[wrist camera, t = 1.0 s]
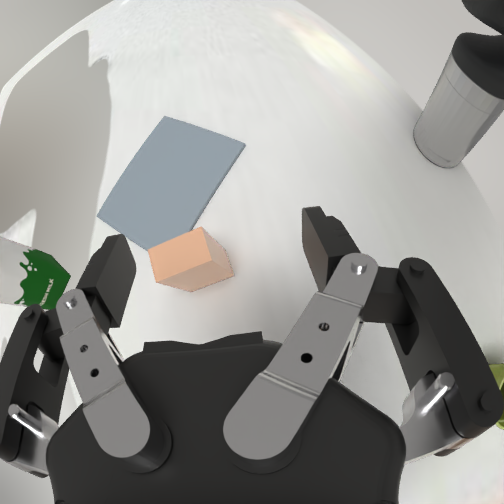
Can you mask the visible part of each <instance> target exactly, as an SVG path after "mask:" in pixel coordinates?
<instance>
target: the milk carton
mask: <svg viewBox="0 0 504 504" xmlns="http://www.w3.org/2000/svg"><path fill="white" fill-rule="evenodd" d="M70 277H71V276H70V275H69V273H68V272H67V271H66V270H65V269H64V268H63V267H62V266H61V265H60V264H59V263H58V262H57V261H56V260H55V259H54V258H53V257H52V256H51V255H49V254H47V253H44V252H42V251H39V250H36V249H34V248H31V247H28V246H25V245H22V244H20V243H17V242H14V241H11V240H8V239H6V238H3V237H0V303H4V304H11V305H18V306H25V307H29V306H30V305H33V304H39V305H40V306H41V307H42V309H48V310H51V309H54V308H56V304H57V302H58V300H59V299H60V297H61V296H62V295H63V292H64V290H65V288H66V286H67V283H68V281H69V279H70Z"/></svg>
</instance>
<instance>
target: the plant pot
mask: <svg viewBox="0 0 504 504" xmlns="http://www.w3.org/2000/svg"><path fill="white" fill-rule="evenodd" d="M489 367H490V369H491V371H492V373H493V375H494V377H495V380H496V382H497V384H498V387H499V389H500V391H501V394H502V396H503V400H504V364H491V365H489ZM496 425H497V426H498V427H499V428H500V429H503V430H504V410H503V414H502V416H501V418H500V419H499V421H498V422H497V423H496Z"/></svg>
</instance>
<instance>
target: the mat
mask: <svg viewBox="0 0 504 504" xmlns="http://www.w3.org/2000/svg"><path fill="white" fill-rule="evenodd" d="M245 146H246V145H245V143H242V142H240V141H237V140H235V139H232V138H229V137H226V136H224V135H221V134H218V133H215V132H213V131H210V130H207V129H204V128H201V127H198V126H195V125H192V124H189V123H186V122H183V121H180V120H176V119H173V118H170V117H167V116H164V117H163V119H162V120H161V121H160V122H159V124H158V125H157V126H156V128H155V129H154V130H153V131H152V133H151V134H150V135H149V137H148V138H147V139H146V141H145V142H144V144H143V145H142V146H141V148H140V149H139V151H138V152H137V153H136V155H135V156H134V158H133V159H132V160H131V162H130V163H129V165H128V166H127V168H126V169H125V171H124V172H123V174H122V175H121V177H120V178H119V180H118V182H117V183H116V185H115V186H114V188H113V189H112V191H111V193H110V194H109V196H108V197H107V199H106V201H105V202H104V204H103V206H102V208H101V209H100V211H99V213H98V214H97V217H98V218H100V219H101V220H103V221H104V222H105V223H107V224H108V225H110V226H111V227H113V228H114V229H115V230H117V231H118V232H120V233H121V234H123V235H124V236H126V237H127V238H129V239H130V240H131V241H133V242H134V243H136V244H137V245H139V246H140V247H142V248H143V249H145V250H146V251H148V249H150V248H152V247H155V246H157V245H159V244H162V243H164V242H166V241H168V240H171V239H173V238H175V237H178V236H180V235H182V234H185V233H187V232H190V231H191V230H192V229H193V227H194V225H195V224H196V222H197V220H198V219H199V217H200V215H201V214H202V212H203V211H204V209H205V207H206V206H207V204H208V203H209V201H210V199H211V198H212V196H213V195H214V193H215V192H216V190H217V188H218V187H219V185H220V184H221V182H222V181H223V179H224V178H225V176H226V175H227V173H228V171H229V170H230V168H231V167H232V165H233V164H234V162H235V161H236V159H237V158H238V156H239V155H240V153H241V152H242V150H243V149H244V148H245Z"/></svg>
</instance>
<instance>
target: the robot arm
mask: <svg viewBox="0 0 504 504" xmlns="http://www.w3.org/2000/svg"><path fill="white" fill-rule="evenodd" d="M462 2H463V4H464V6H465V7H466V9H467V10H468V11H469V12H470V13H471V14H472V15H474V16H475V17H476V18H477V19H479V20H480V21H482V22H483V23H484V24H486V25H488V26H489V27H491V28H493V29H494V30H496V31H498V32H499V33H501V34H502V35H497V36H489V35H481V34H476V33H462V34H460V35H459V36H458V37H457V39H456V41H455V43H454V45H453V48H452V51H451V53H450V55H449V58H448V60H447V62H446V64H445V67H444V69H443V71H442V74H441V76H440V78H439V80H438V82H437V84H436V86H435V88H434V90H433V92H432V94H431V96H430V99H429V101H428V103H427V105H426V107H425V109H424V111H423V112H422V114H421V116H420V118H419V120H418V122H417V124H416V126H415V129H414V139H415V142H416V144H417V146H418V148H419V149H420V151H421V152H422V153H423V155H424V156H425V157H426V158H428V159H429V160H430V161H431V162H433V163H435V164H437V165H439V166H441V167H446V168H451V167H455V166H457V165H458V164H459V163H460V162H461V161H462V159H463V158H464V157H465V156H466V155H467V154H468V153H469V152H470V151H471V149H472V148H473V147H474V146H475V145H476V144H477V142H478V141H479V140H480V139H481V138H482V137H483V135H484V134H485V133H486V132H487V130H488V129H489V128H490V127H491V126H492V124H493V123H494V122H495V121H496V119H497V118H498V117H499V116H500V114H501V113H502V112H503V110H504V0H462ZM302 243H303V249H304V252H305V255H306V258H307V260H308V263H309V266H310V268H311V271H312V273H313V276H314V279H315V282H316V284H317V287H318V290H319V291H317V292H316V293H315V294H314V296H313V298H312V299H311V301H310V302H309V304H308V306H307V307H306V309H305V311H304V312H303V314H302V315H301V317H300V318H299V320H298V322H297V323H296V325H295V326H294V328H293V329H292V331H291V333H290V334H289V336H288V337H287V339H286V340H285V342H284V343H283V344H281V343H278V342H274V341H268V340H263V338H262V331H260V332H252V333H244V334H236V335H230V336H227V337H224V338H221V339H217V340H214V341H211V342H208V343H205V344H200V345H198V344H190V343H183V342H177V341H158V342H144V348H143V351H142V352H139V353H137V354H134V355H132V356H130V357H129V358H127V359H126V360H124V358H123V356H122V354H121V353H120V351H119V349H118V348H117V346H116V344H115V342H114V340H113V339H112V337H111V335H110V334H109V328H118V327H120V325H121V321H122V317H123V314H124V310H125V307H126V304H127V300H128V297H129V294H130V290H131V287H132V284H133V281H134V278H135V275H136V264H135V260H134V258H133V255H132V253H131V250H130V248H129V245H128V243H127V240H126V238H125V236H124V235H123V234H118V235H113V236H108V237H107V238H106V239H105V241H104V243H103V245H102V247H101V248H99V249H98V250H97V251H96V252H95V253H94V254H93V256H92V257H91V259H90V261H89V263H88V265H87V267H86V269H85V271H84V273H83V275H82V277H81V278H80V281H79V283H78V285H77V287H76V289H73V290H70V291H68V292H66V293H65V294H63V295H62V296H61V297H60V299H59V300H58V302H57V304H56V308H54V309H51V310H48V311H46V312H45V311H44V310H43V309H42V307H41V306H40V305H39V304H33V305H30V306H29V307H27V308H26V309H25V310H24V311H23V312H22V313H21V315H20V317H19V319H18V321H17V323H16V325H15V328H14V330H13V332H12V335H11V337H10V339H9V342H8V344H7V347H6V349H5V352H4V355H3V357H2V360H1V363H0V458H1V459H2V460H4V461H5V462H7V463H9V464H11V465H13V466H15V467H17V468H19V469H21V470H23V471H25V472H29V473H31V474H33V475H35V476H38V477H41V478H45V477H47V476H48V475H49V476H50V479H51V484H52V489H53V494H54V502H55V504H399V502H398V494H399V484H400V479H401V474H402V470H403V467H404V465H406V464H409V463H412V462H415V461H417V460H420V459H423V458H425V457H428V456H430V455H433V454H434V455H436V456H446V455H448V454H450V453H452V452H454V451H455V450H457V449H459V448H460V447H462V446H464V445H465V444H467V443H468V442H470V441H471V440H473V439H474V438H476V437H477V436H479V435H480V434H482V433H483V432H485V431H486V430H488V429H489V428H490V427H492V426H493V425H494V424H496V423H497V422H498V421H499V419H500V418H501V416H502V414H503V410H504V400H503V396H502V394H501V391H500V389H499V387H498V384H497V382H496V380H495V377H494V375H493V373H492V371H491V369H490V367H489V364H488V362H487V360H486V358H485V356H484V354H483V352H482V350H481V348H480V346H479V344H478V343H477V341H476V339H475V337H474V335H473V333H472V331H471V330H470V328H469V326H468V324H467V322H466V321H465V319H464V317H463V315H462V314H461V312H460V310H459V309H458V307H457V305H456V304H455V302H454V300H453V299H452V297H451V296H450V294H449V292H448V291H447V289H446V288H445V286H444V285H443V283H442V281H441V280H440V278H439V277H438V275H437V274H436V272H435V271H434V270H433V268H432V267H431V265H430V264H428V263H427V262H426V261H424V260H422V259H419V258H413V257H411V258H406V259H404V260H402V261H401V262H400V265H399V268H386V267H380V266H378V265H377V262H376V261H375V260H374V259H373V258H372V257H370V256H368V255H366V254H362V253H361V252H360V251H359V249H358V247H357V246H356V244H355V243H354V241H353V239H352V238H351V236H349V233H348V232H347V230H346V229H345V227H344V225H343V224H342V222H341V221H339V220H338V219H336V218H335V217H333V216H327V217H326V216H325V214H324V212H323V211H322V209H321V207H320V206H316V207H307V208H303V209H302ZM364 322H375V323H385V325H386V327H387V330H388V332H389V335H390V337H391V340H392V342H393V345H394V347H395V350H396V353H397V355H398V358H399V361H400V363H401V366H402V369H403V372H404V375H405V377H406V380H407V383H408V386H409V389H410V393H409V394H408V396H407V397H406V398H405V400H404V402H403V406H402V412H403V422H402V425H401V426H400V427H398V425H397V424H396V423H395V422H394V421H393V420H392V419H391V418H390V417H388V416H387V415H385V414H384V413H383V412H381V411H380V410H378V409H377V408H375V407H374V406H372V405H371V404H369V403H368V402H366V401H365V400H364V399H362V398H361V397H359V396H358V395H356V394H355V393H354V392H352V391H351V390H349V389H348V388H347V387H345V386H344V385H342V384H341V383H340V380H341V378H342V375H343V373H344V371H345V368H346V366H347V363H348V361H349V358H350V356H351V353H352V351H353V349H354V347H355V344H356V342H357V340H358V337H359V335H360V332H361V330H362V327H363V325H364ZM37 348H39V350H40V351H41V352H42V353H43V354H44V357H43V360H42V364H41V367H40V370H39V373H38V372H37V371H36V370H35V368H34V365H33V361H34V357H35V354H36V351H37ZM69 368H70V371H71V374H72V376H73V379H74V382H75V384H76V387H77V389H78V392H79V394H80V397H81V399H82V401H83V403H82V404H81V405H80V406H79V407H78V408H77V409H76V410H75V411H74V412H73V413H72V415H71V416H70V417H69V418H68V419H67V420H66V421H65V422H64V423H63V424H62V425H61V426H60V427H58V422H59V416H60V410H61V405H62V400H63V395H64V390H65V385H66V381H67V377H68V372H69Z"/></svg>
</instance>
